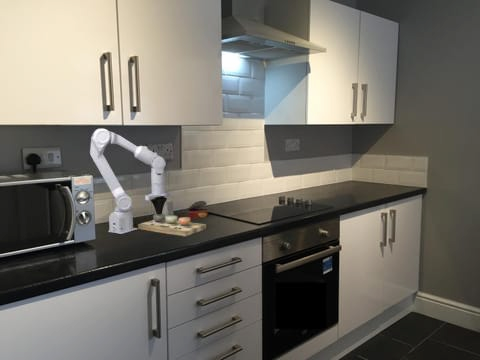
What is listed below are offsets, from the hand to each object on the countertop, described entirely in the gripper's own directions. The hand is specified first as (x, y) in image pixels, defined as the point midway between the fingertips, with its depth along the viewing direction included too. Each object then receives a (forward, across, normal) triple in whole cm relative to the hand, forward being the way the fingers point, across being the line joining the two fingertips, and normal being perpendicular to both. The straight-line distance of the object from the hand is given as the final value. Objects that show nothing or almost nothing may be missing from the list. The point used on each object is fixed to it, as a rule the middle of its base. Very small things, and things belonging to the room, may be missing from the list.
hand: (159, 214), depth 185 cm
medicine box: (+6, +16, +11) cm, 20 cm away
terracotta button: (+2, 0, -14) cm, 14 cm away
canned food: (+6, +27, -1) cm, 28 cm away
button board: (+6, 0, -7) cm, 9 cm away
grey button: (+2, 0, 0) cm, 2 cm away
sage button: (+2, 0, -7) cm, 7 cm away
